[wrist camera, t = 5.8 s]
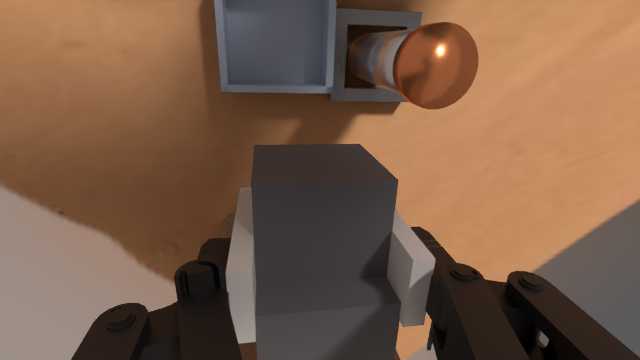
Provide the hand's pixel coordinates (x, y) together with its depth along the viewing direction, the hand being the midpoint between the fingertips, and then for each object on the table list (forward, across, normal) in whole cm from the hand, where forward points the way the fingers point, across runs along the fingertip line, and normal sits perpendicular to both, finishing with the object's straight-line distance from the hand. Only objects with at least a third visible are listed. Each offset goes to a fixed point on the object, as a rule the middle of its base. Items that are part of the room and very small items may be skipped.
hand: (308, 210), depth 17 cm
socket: (+13, +6, +7) cm, 16 cm away
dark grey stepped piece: (0, 0, 0) cm, 1 cm away
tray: (+13, -1, +8) cm, 16 cm away
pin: (+13, +6, +7) cm, 16 cm away
